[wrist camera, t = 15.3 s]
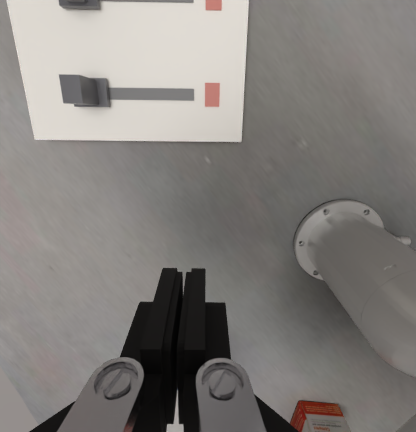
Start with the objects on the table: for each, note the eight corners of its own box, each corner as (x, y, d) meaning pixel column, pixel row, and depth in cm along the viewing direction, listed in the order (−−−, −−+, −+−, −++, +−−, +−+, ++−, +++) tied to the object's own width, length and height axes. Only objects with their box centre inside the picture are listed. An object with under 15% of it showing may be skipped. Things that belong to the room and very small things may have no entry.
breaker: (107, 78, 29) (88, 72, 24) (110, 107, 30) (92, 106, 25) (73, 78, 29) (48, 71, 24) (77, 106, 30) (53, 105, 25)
